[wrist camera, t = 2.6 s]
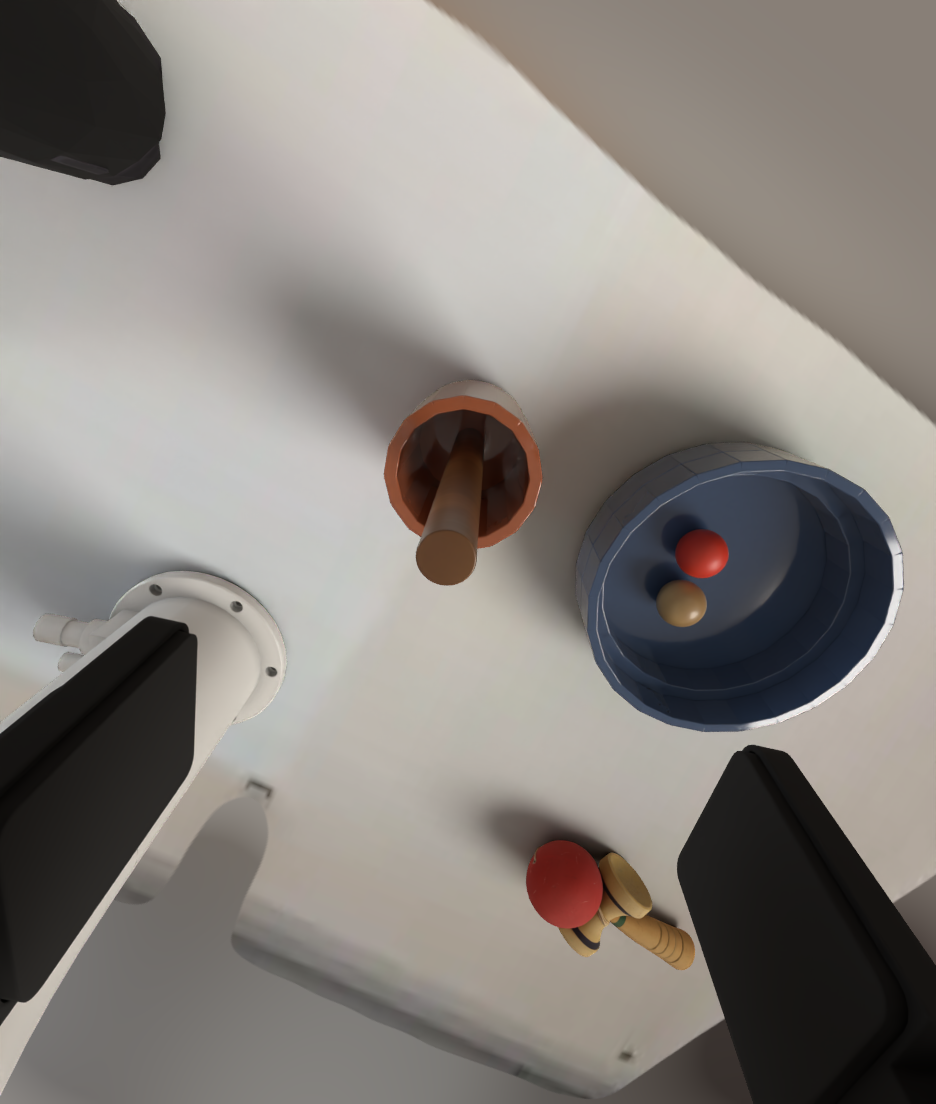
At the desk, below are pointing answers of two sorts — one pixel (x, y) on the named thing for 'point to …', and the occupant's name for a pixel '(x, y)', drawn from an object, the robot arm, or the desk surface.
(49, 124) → the portable speaker
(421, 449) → the holder
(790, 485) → the bowl
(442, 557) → the stick
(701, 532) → the red bead
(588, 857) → the kendama
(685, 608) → the beech bead
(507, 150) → the desk surface
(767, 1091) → the robot arm
